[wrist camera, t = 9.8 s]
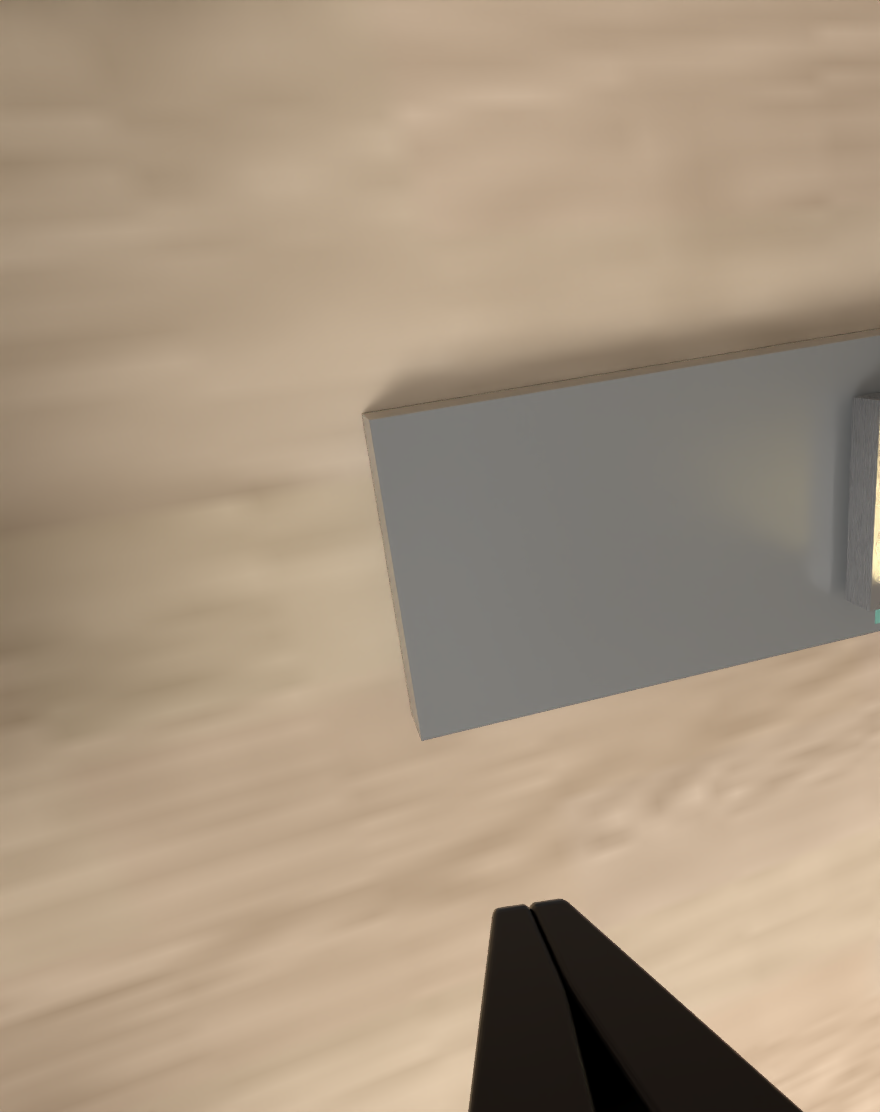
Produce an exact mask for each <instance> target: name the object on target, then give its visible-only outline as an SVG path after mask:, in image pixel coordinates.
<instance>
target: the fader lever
mask: <svg viewBox="0 0 880 1112" xmlns="http://www.w3.org/2000/svg"><path fill="white" fill-rule="evenodd" d="M845 600H847V601H849V602H851V603H853V604H855V605H857V606H860V607H862V608H864V609H866V610H868V611H874V610H879V609H880V393H874V394H869V395H863V396H858V397H853V405H852V431H851V458H850V485H849V511H848V538H847V565H846V591H845Z"/></svg>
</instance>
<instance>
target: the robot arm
mask: <svg viewBox="0 0 880 1112" xmlns="http://www.w3.org/2000/svg"><path fill="white" fill-rule="evenodd" d="M468 1112H803V1111H802V1110H801V1109H800V1108H799V1107H797V1106H796V1105H795V1104H794V1103H793V1102H792V1101H791V1100H790V1099H788V1098H787V1097H786V1096H785V1095H784V1094H783V1093H782V1092H781V1091H779V1090H778V1089H777V1088H776V1087H775V1086H774V1085H773V1084H772V1083H770V1082H769V1081H768V1080H767V1079H766V1078H765V1077H764V1076H763V1075H762V1074H760V1073H759V1072H758V1071H757V1070H756V1069H755V1068H754V1067H753V1066H751V1065H750V1064H749V1063H748V1062H747V1061H746V1060H745V1059H744V1058H742V1057H741V1056H740V1055H739V1054H738V1053H737V1052H736V1051H735V1050H733V1049H732V1048H731V1047H730V1046H729V1045H728V1044H727V1043H726V1042H724V1041H723V1040H722V1039H721V1038H720V1037H719V1036H718V1035H717V1034H716V1033H714V1032H713V1031H712V1030H711V1029H710V1028H709V1027H708V1026H707V1025H705V1024H704V1023H703V1022H702V1021H701V1020H700V1019H699V1018H698V1017H696V1016H695V1015H694V1014H693V1013H692V1012H691V1011H690V1010H689V1009H687V1008H686V1007H685V1006H684V1005H683V1004H682V1003H681V1002H680V1001H678V1000H677V999H676V998H675V997H674V996H673V995H672V994H671V993H670V992H668V991H667V990H666V989H665V988H664V987H663V986H662V985H661V984H659V983H658V982H657V981H656V980H655V979H654V978H653V977H652V976H650V975H649V974H648V973H647V972H646V971H645V970H644V969H643V968H641V967H640V966H639V965H638V964H637V963H636V962H635V961H634V960H632V959H631V958H630V957H629V956H628V955H627V954H626V953H625V952H624V951H622V950H621V949H620V948H619V947H618V946H617V945H616V944H615V943H613V942H612V941H611V940H610V939H609V938H608V937H607V936H606V935H604V934H603V933H602V932H601V931H600V930H599V929H598V928H597V927H595V926H594V925H593V924H592V923H591V922H590V921H589V920H588V919H587V918H585V917H584V916H583V915H582V914H581V913H580V912H579V911H578V910H576V909H575V908H574V907H573V906H572V905H571V904H570V903H568V902H567V901H565V900H563V899H554V900H547V901H541V902H535V903H533V904H532V905H531V906H530V907H528V906H526V905H524V904H521V905H514V906H507V907H501V908H497V909H495V910H494V912H493V916H492V923H491V931H490V939H489V947H488V956H487V964H486V972H485V980H484V988H483V996H482V1004H481V1013H480V1021H479V1029H478V1037H477V1045H476V1053H475V1061H474V1069H473V1078H472V1086H471V1094H470V1102H469V1110H468Z"/></svg>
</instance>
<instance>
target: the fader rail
mask: <svg viewBox="0 0 880 1112" xmlns="http://www.w3.org/2000/svg"><path fill="white" fill-rule="evenodd" d="M874 393H880V328H879V329H872V330H866V331H860V332H854V333H848V334H842V335H836V336H830V337H824V338H818V339H812V340H806V341H800V342H793V343H787V344H781V345H775V346H769V347H763V348H757V349H751V350H745V351H739V352H733V353H727V354H721V355H715V356H708V357H702V358H696V359H690V360H684V361H678V362H672V363H666V364H660V365H654V366H648V367H642V368H636V369H629V370H623V371H617V372H611V373H605V374H599V375H593V376H587V377H581V378H575V379H569V380H563V381H557V382H551V383H544V384H538V385H532V386H526V387H520V388H514V389H508V390H502V391H496V392H490V393H484V394H478V395H472V396H466V397H459V398H453V399H447V400H441V401H435V402H429V403H423V404H417V405H411V406H405V407H399V408H393V409H387V410H380V411H374V412H368V413H362V418H363V424H364V430H365V436H366V442H367V448H368V454H369V460H370V466H371V472H372V478H373V484H374V490H375V496H376V502H377V508H378V514H379V520H380V526H381V532H382V538H383V544H384V550H385V556H386V562H387V568H388V574H389V580H390V586H391V592H392V598H393V604H394V610H395V616H396V622H397V628H398V634H399V640H400V646H401V652H402V658H403V664H404V671H405V677H406V683H407V689H408V695H409V701H410V707H411V713H412V717H413V719H414V722H415V725H416V727H417V730H418V733H419V735H420V738H421V740H422V741H424V740H428V739H432V738H436V737H440V736H444V735H448V734H453V733H457V732H461V731H465V730H469V729H473V728H478V727H482V726H486V725H490V724H494V723H498V722H503V721H507V720H511V719H515V718H519V717H523V716H528V715H532V714H536V713H540V712H544V711H548V710H553V709H557V708H561V707H565V706H569V705H573V704H578V703H582V702H586V701H590V700H594V699H598V698H603V697H607V696H611V695H615V694H619V693H623V692H627V691H632V690H636V689H640V688H644V687H648V686H652V685H657V684H661V683H665V682H669V681H673V680H677V679H682V678H686V677H690V676H694V675H698V674H702V673H707V672H711V671H715V670H719V669H723V668H727V667H732V666H736V665H740V664H744V663H748V662H752V661H757V660H761V659H765V658H769V657H773V656H777V655H782V654H786V653H790V652H794V651H798V650H802V649H806V648H811V647H815V646H819V645H823V644H827V643H831V642H836V641H840V640H844V639H848V638H852V637H856V636H861V635H865V634H869V633H873V632H877V631H880V609H879V610H874V611H868V610H866V609H864V608H862V607H860V606H857V605H855V604H853V603H851V602H849V601H847V600H845V591H846V565H847V538H848V511H849V485H850V458H851V431H852V405H853V397H858V396H863V395H869V394H874Z"/></svg>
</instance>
